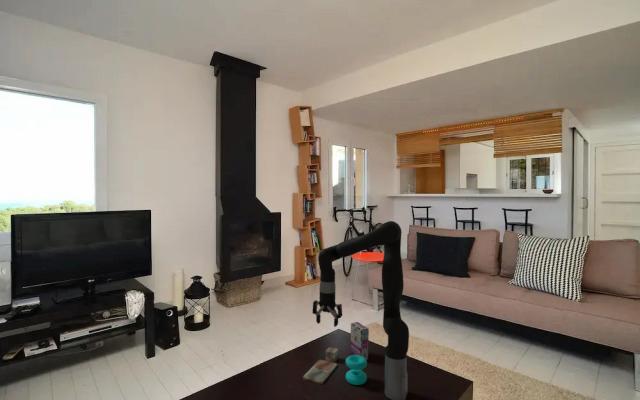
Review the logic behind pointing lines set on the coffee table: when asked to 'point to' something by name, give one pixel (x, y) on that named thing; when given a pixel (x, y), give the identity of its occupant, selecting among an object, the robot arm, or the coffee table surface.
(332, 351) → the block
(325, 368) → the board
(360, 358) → the donuts
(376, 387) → the coffee table surface
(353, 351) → the candy bar box
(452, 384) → the coffee table surface
